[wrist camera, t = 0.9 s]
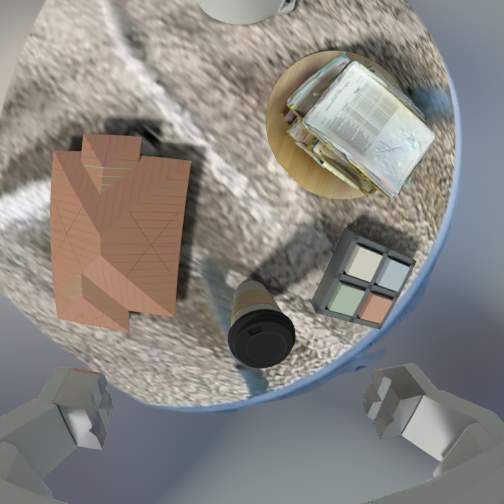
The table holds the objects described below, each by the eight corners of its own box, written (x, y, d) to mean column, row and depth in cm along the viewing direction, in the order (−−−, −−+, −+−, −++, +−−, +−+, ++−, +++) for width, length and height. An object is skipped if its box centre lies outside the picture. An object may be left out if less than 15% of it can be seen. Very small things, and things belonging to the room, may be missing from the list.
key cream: (355, 243, 50) (360, 247, 48) (377, 252, 51) (382, 256, 49) (343, 269, 51) (347, 274, 49) (365, 277, 52) (370, 282, 50)
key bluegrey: (385, 255, 51) (391, 259, 49) (404, 263, 52) (410, 267, 51) (373, 280, 53) (378, 285, 51) (392, 287, 54) (397, 291, 52)
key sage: (338, 279, 52) (342, 284, 50) (360, 287, 53) (365, 292, 51) (325, 304, 53) (329, 310, 51) (348, 310, 54) (352, 316, 52)
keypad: (345, 227, 52) (354, 234, 48) (405, 254, 55) (416, 261, 51) (310, 302, 56) (317, 313, 52) (371, 319, 59) (380, 329, 55)
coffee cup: (246, 260, 52) (259, 303, 38) (288, 290, 54) (312, 337, 40) (213, 301, 53) (214, 353, 39) (255, 327, 56) (267, 381, 42)
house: (195, 142, 45) (191, 141, 37) (175, 328, 55) (170, 354, 47) (64, 133, 41) (40, 132, 33) (64, 309, 51) (47, 332, 43)
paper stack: (327, 227, 51) (373, 262, 36) (232, 110, 43) (242, 90, 28) (421, 145, 48) (485, 151, 33) (345, 32, 40) (394, -2, 25)
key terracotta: (368, 290, 53) (373, 294, 51) (388, 296, 54) (393, 301, 52) (356, 313, 55) (360, 318, 53) (375, 318, 56) (380, 323, 54)
